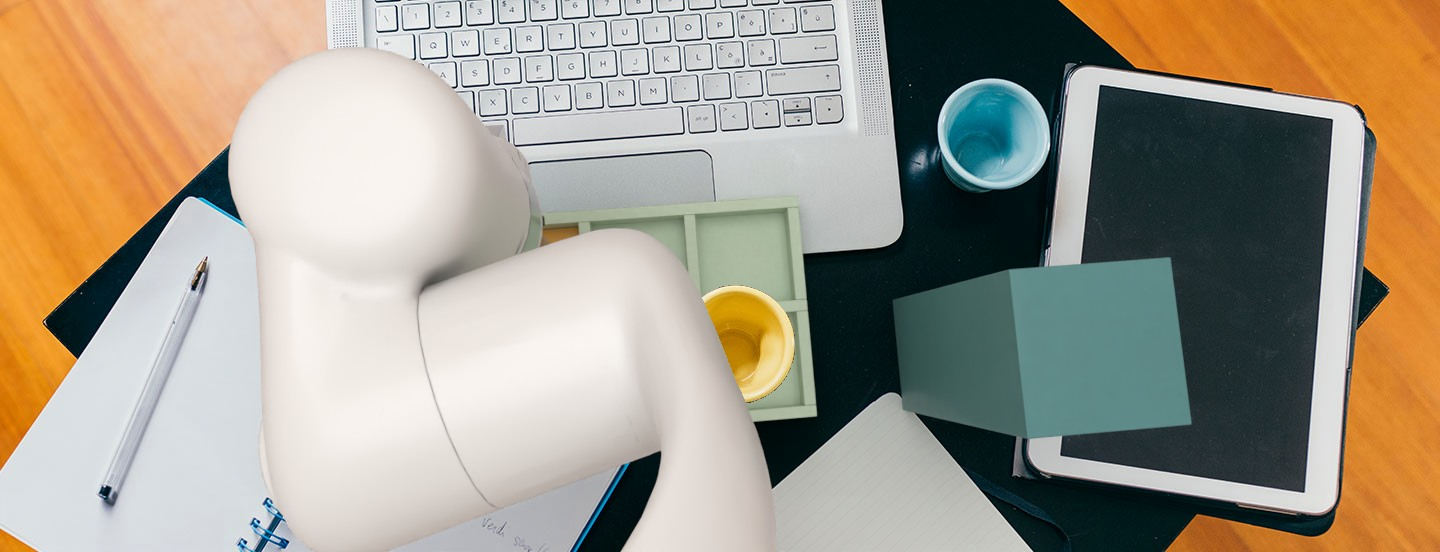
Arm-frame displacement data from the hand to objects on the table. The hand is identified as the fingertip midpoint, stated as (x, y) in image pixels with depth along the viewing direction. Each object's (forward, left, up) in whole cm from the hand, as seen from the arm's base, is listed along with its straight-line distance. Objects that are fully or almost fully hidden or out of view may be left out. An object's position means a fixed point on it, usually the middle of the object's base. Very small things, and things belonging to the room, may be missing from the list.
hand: (522, 263), depth 55 cm
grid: (-4, -7, -7) cm, 11 cm away
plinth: (-8, -29, -7) cm, 31 cm away
